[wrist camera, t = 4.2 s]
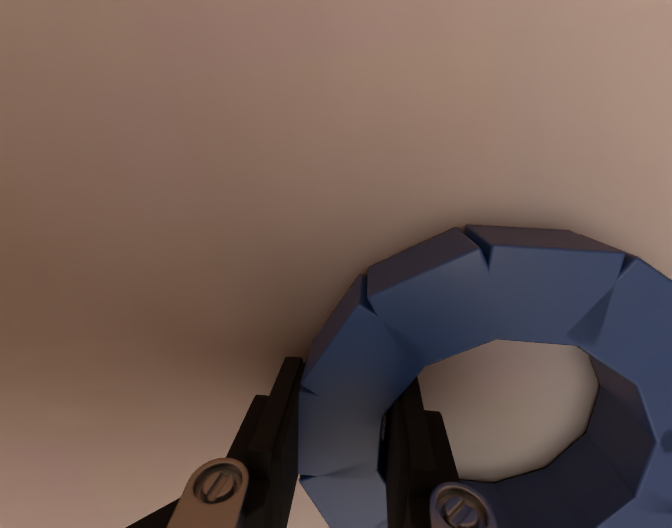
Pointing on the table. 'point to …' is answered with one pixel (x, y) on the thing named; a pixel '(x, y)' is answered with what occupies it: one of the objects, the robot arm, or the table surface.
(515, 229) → the ring
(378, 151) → the table surface
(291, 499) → the robot arm
